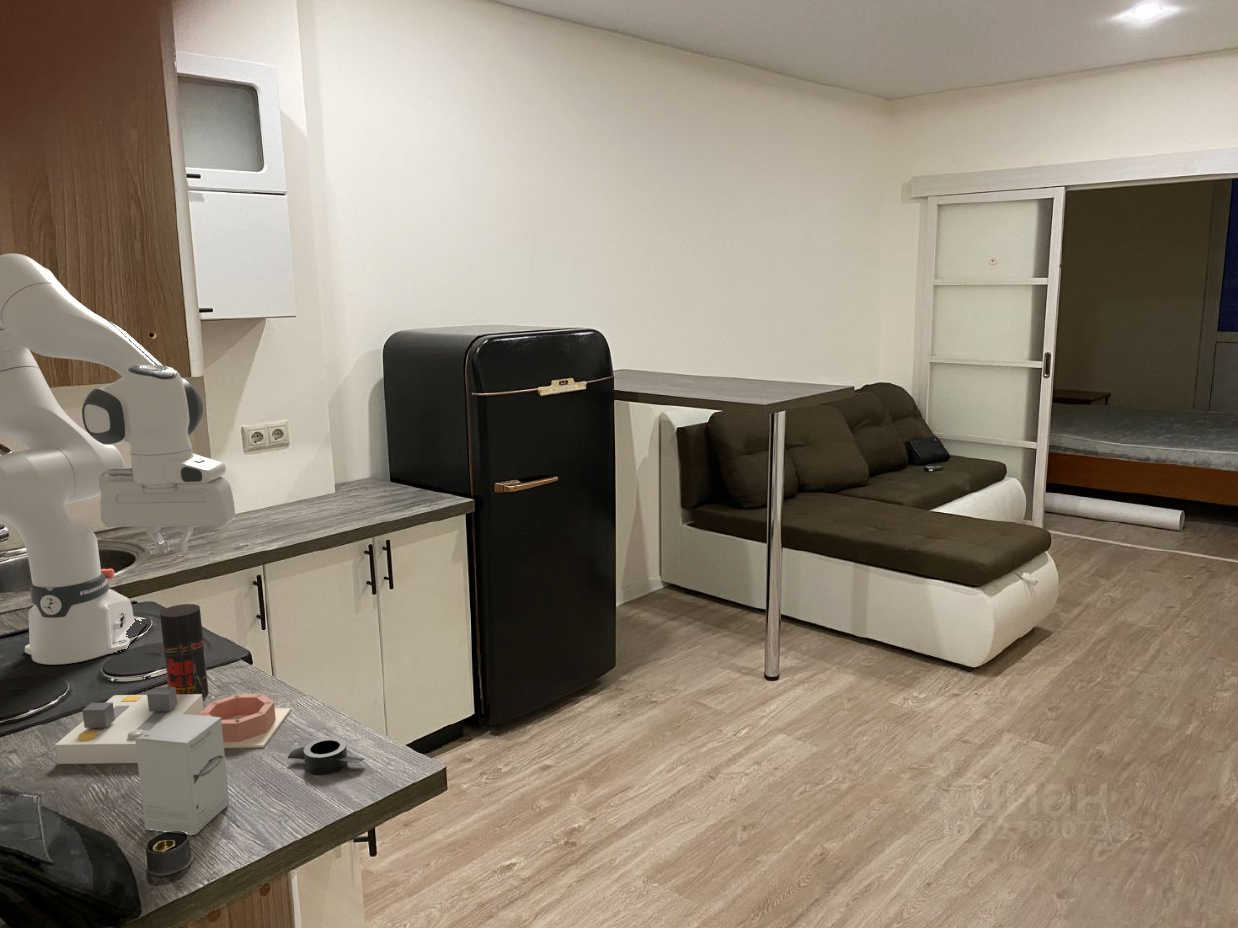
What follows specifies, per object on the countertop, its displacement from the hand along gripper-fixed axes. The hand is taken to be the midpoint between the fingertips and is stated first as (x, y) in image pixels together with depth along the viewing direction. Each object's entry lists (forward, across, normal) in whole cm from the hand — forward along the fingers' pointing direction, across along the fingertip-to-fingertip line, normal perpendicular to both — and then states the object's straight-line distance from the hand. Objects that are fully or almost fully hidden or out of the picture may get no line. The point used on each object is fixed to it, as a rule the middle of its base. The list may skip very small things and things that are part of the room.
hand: (172, 552), depth 149 cm
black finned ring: (+25, +30, -23) cm, 45 cm away
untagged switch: (+21, +2, -11) cm, 24 cm away
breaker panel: (+25, -2, -14) cm, 29 cm away
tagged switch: (+22, -5, -16) cm, 28 cm away
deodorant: (+25, 0, 0) cm, 25 cm away
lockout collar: (+25, +13, -12) cm, 31 cm away
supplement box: (+25, +17, -36) cm, 47 cm away
